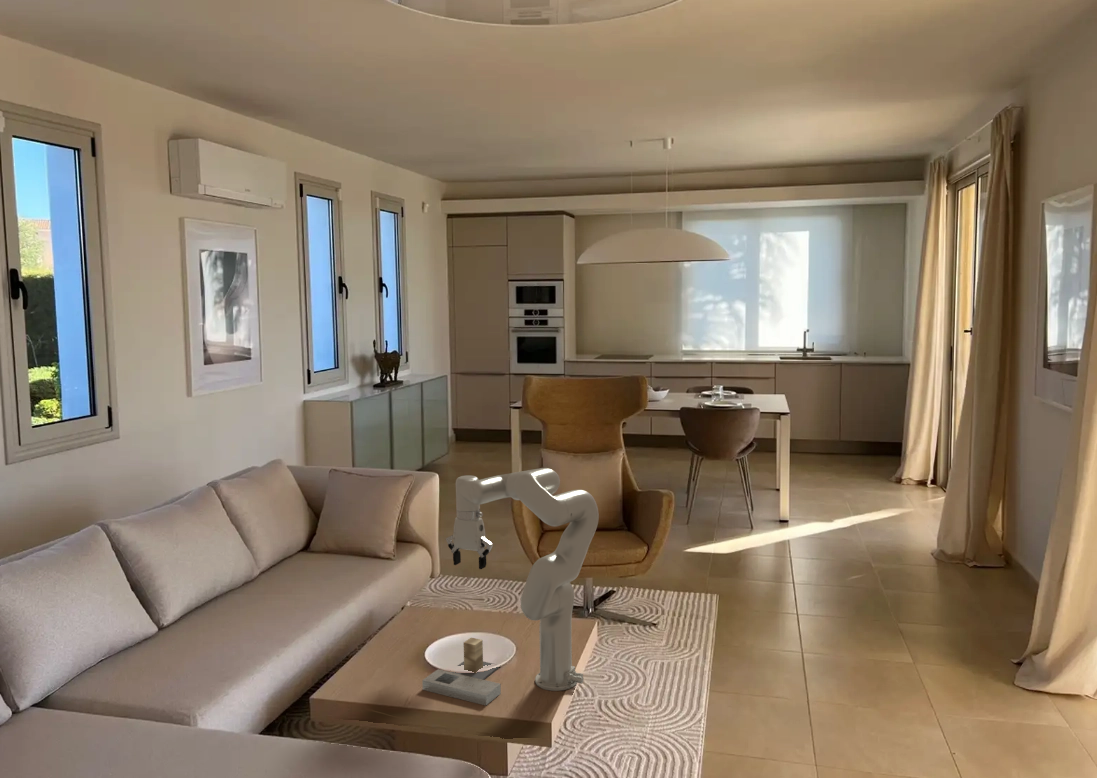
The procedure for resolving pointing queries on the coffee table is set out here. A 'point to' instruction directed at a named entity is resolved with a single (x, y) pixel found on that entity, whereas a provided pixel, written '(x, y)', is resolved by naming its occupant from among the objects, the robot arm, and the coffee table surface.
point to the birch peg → (473, 654)
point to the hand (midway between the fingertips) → (469, 566)
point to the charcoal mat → (479, 674)
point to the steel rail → (461, 687)
